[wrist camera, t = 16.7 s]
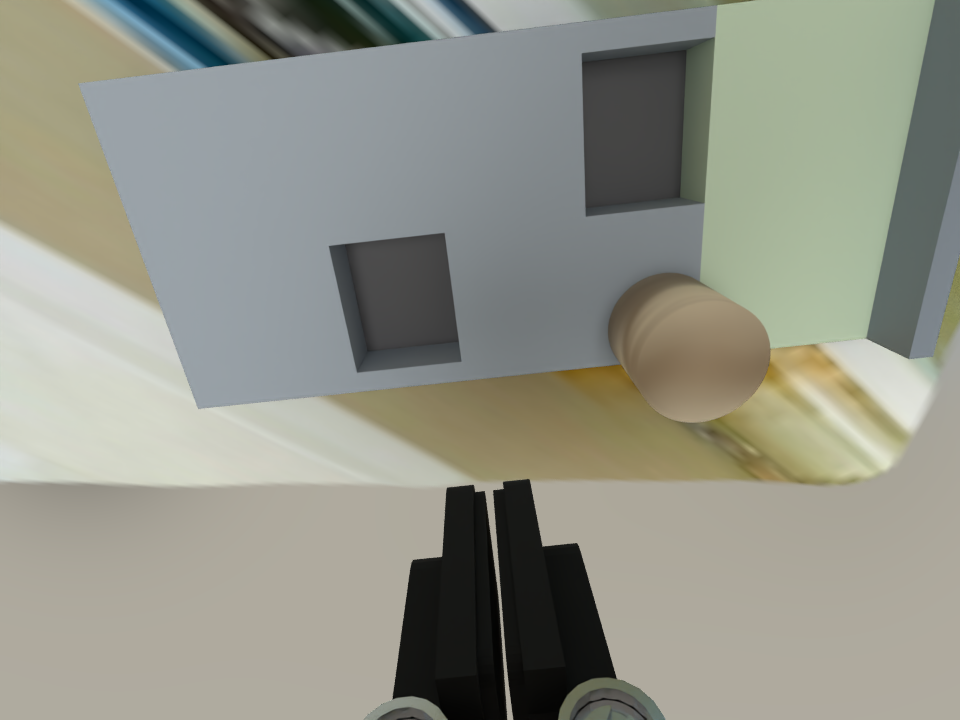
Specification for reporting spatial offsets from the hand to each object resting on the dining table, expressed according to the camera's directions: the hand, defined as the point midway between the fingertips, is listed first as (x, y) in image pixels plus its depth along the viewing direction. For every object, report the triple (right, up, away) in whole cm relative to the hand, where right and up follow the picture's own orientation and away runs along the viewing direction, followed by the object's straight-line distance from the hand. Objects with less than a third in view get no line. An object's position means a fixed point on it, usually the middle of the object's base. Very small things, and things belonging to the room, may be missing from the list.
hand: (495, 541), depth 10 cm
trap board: (+2, +11, +14) cm, 18 cm away
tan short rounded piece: (+8, +5, +13) cm, 16 cm away
